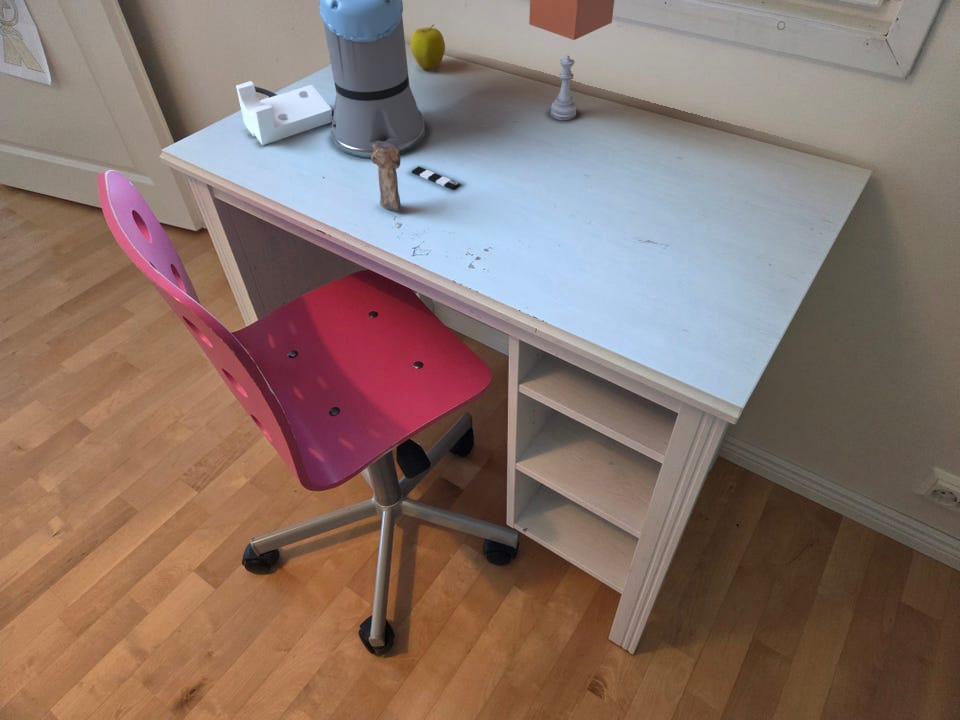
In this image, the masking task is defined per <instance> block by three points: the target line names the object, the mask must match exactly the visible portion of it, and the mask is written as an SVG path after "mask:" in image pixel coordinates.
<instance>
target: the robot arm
mask: <svg viewBox="0 0 960 720" xmlns="http://www.w3.org/2000/svg"><path fill="white" fill-rule="evenodd" d="M318 7H319V8H318V9H319V14H320V17H321V19H322V23H323V28H324V34H325V39H326V45H327V50H328V55H329V60H330V67H331V72H332V78H333V82H334V87H335V101H334V107H333V108H334V110H332V117H333V122H331V134H332V139H333V142H334V145H335V146H336V147H337V148H338V149H339V150H341V151H342V152H344V153H346V154H349V155H351V156H355V157H360V158H370V159H371V155H372V154H373V151H374V149H373V147H372V145H373V144H374V143H377V142H380V141H381V142H387V143H390V144H392V145H394V146H396V147H398V148H399V149H400V154H402V153H403V154H404V153H405V152H407V151H410V150H411V149H413V148H414V147H417V146H418V145H419V144H420V143H421V142H422V140H423V139H424V137H425V135H426V133H425V132H426V128H425V121H424V117H423V115H422V112H421V110H420V109H419V107H418V103H417V101H416V99H415V97H414V94H413V91H412V89H411V86H410V78H409V68H408V67H409V66H408V58H407V49H406V47H407V46H406V40H405V39H406V38H405V29H404V20H403V19H404V18H403V11H404V5H403V0H319V1H318ZM254 87H255V91H256V93H257V94H258V93H259V94H262V95H265V96H267V97H268V98H270V97H273V96H276V95H278V94H276V93H274V92H272V91H270V90H268V89H265V88H262V87H258V86H254Z"/></svg>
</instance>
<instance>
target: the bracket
mask: <svg viewBox="0 0 960 720" xmlns="http://www.w3.org/2000/svg"><path fill="white" fill-rule="evenodd" d="M255 87H256V86H255V84H254V83H253V81H252V80H250V81H246V82H243V83H240V84H236V85H235V88H236V91H237V98H238V101H239V106H240V110H241V111H240V112H241V115H242V121H243V124H244V126H245V127H246V128H247V130H248V131H249V132H250V134H251V135H252V137H255V138H256V139H257V140H258V142H259V143H260V144H261V146H266V145H268V144H272V143H274V142H277V141H280V140H284V139H286V138H290V137H292V136H295V135H298V134H300V133H304V132H307V131H310V130H312V129H315V128H318V127H321V126H325V125H327V124H330V123H331V124H332V122H333V116H332V111H333V109H332V108H331V106H330V105H329V104H328V103H327V101H326V100H325V99H324V98H323V96H322V95H321V94H320V93H319V92H318V90H317V89H316V88H315V87H314V85H313V84H308V85H306V86H303V87H299V88H296V89H292V90H289V91H286V92H282V93H278V94H277V95H276V96H273V97H266V98H263V99H259V96H258V92H256V91H255Z"/></svg>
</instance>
